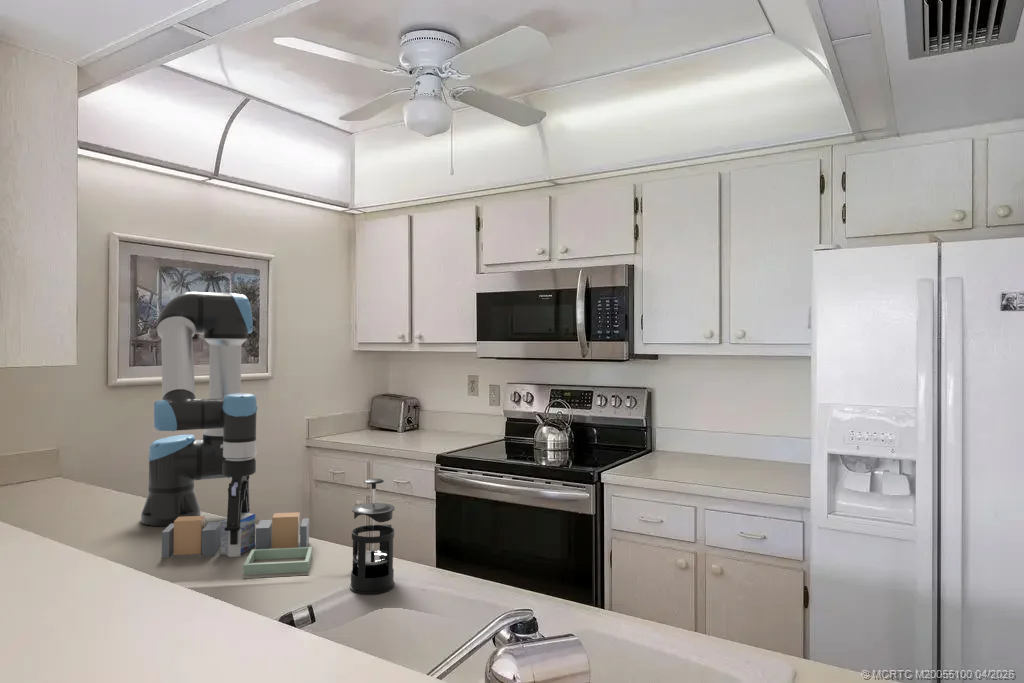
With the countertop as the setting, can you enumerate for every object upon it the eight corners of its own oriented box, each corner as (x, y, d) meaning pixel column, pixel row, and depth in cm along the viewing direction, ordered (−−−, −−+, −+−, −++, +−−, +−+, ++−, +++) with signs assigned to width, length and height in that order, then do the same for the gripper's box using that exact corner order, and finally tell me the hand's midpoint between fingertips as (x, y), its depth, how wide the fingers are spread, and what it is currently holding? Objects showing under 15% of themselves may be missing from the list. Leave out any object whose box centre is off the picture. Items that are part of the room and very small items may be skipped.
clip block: (170, 552, 165) (170, 523, 165) (308, 545, 171) (309, 518, 171) (161, 562, 158) (162, 532, 158) (306, 555, 165) (306, 526, 164)
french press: (378, 598, 139) (380, 486, 138) (339, 592, 142) (340, 482, 141) (406, 579, 150) (407, 475, 149) (369, 573, 153) (370, 471, 153)
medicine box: (236, 558, 160) (237, 522, 160) (219, 556, 161) (220, 520, 161) (255, 548, 168) (256, 513, 168) (239, 546, 169) (239, 511, 169)
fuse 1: (178, 549, 164) (178, 516, 164) (204, 548, 165) (205, 515, 165) (173, 555, 160) (173, 521, 160) (200, 553, 161) (201, 520, 161)
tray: (251, 562, 158) (251, 549, 158) (312, 559, 161) (312, 546, 161) (243, 579, 148) (243, 565, 148) (308, 575, 151) (308, 561, 151)
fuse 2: (274, 545, 168) (274, 513, 168) (299, 544, 169) (299, 512, 169) (271, 550, 164) (272, 517, 164) (297, 549, 166) (298, 516, 165)
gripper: (231, 450, 174) (230, 537, 175) (212, 467, 153) (211, 566, 153) (262, 449, 176) (261, 536, 176) (248, 466, 155) (246, 565, 155)
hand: (238, 550), depth 165 cm, fingers closed on medicine box, 9 cm apart
